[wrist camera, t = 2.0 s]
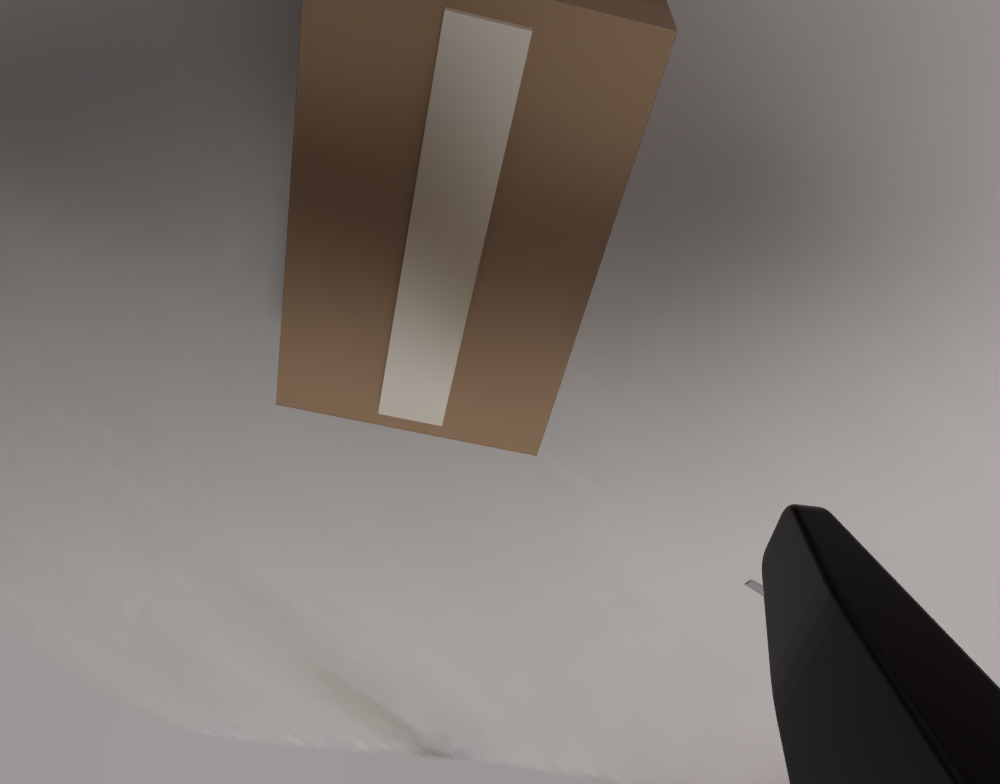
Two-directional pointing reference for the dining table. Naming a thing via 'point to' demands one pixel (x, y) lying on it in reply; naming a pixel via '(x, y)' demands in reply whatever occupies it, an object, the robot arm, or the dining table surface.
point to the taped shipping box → (456, 203)
